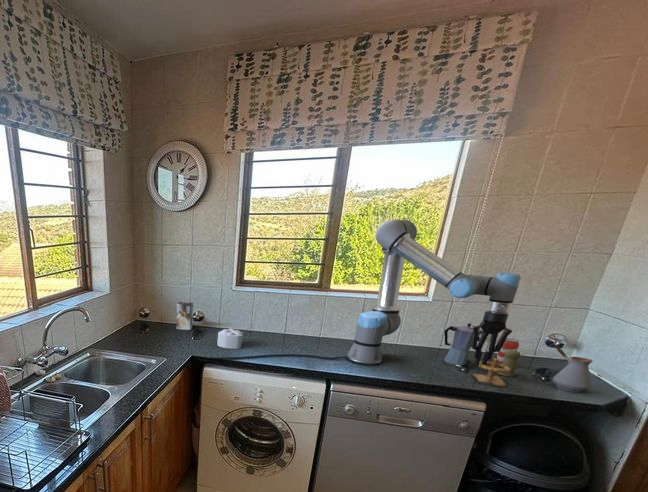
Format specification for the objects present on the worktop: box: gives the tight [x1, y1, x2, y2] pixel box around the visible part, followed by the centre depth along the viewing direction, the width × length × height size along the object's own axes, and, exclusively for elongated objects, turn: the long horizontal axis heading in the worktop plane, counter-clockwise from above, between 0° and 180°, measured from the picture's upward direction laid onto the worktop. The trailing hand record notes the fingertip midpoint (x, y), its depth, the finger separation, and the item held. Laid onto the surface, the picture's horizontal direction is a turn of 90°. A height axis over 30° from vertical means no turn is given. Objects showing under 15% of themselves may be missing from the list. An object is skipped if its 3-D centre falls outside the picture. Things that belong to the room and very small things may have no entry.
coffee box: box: [176, 301, 194, 331], centre depth 249 cm, size 9×6×16 cm
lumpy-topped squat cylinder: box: [216, 328, 244, 350], centre depth 217 cm, size 10×13×9 cm
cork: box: [496, 350, 521, 377], centre depth 179 cm, size 6×6×11 cm
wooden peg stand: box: [473, 357, 507, 387], centre depth 171 cm, size 9×9×10 cm
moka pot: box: [443, 323, 483, 366], centre depth 190 cm, size 10×15×20 cm, turn 78°
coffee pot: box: [549, 343, 593, 393], centre depth 168 cm, size 21×12×15 cm, turn 171°
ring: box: [478, 360, 511, 373], centre depth 171 cm, size 11×11×2 cm
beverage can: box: [495, 337, 520, 364], centre depth 192 cm, size 6×6×12 cm
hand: (479, 365), depth 173 cm, fingers closed on ring, 2 cm apart
